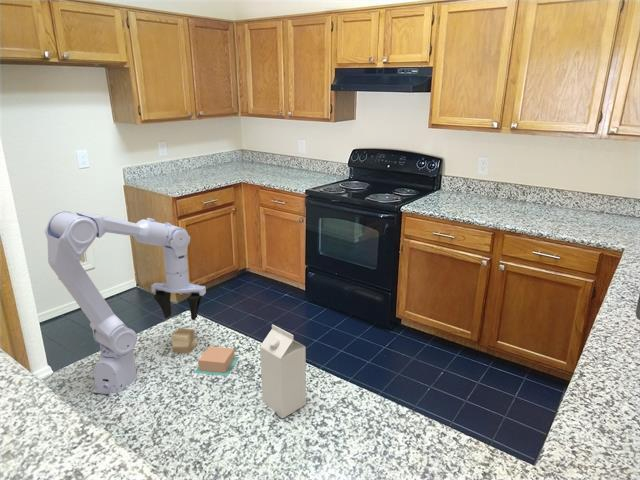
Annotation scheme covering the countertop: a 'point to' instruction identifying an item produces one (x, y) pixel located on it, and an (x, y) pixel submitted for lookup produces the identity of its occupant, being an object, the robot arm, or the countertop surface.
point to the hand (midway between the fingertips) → (181, 317)
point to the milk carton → (283, 372)
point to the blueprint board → (219, 373)
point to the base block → (216, 359)
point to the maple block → (183, 341)
